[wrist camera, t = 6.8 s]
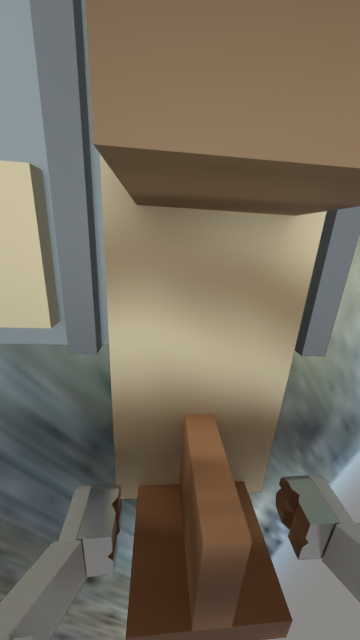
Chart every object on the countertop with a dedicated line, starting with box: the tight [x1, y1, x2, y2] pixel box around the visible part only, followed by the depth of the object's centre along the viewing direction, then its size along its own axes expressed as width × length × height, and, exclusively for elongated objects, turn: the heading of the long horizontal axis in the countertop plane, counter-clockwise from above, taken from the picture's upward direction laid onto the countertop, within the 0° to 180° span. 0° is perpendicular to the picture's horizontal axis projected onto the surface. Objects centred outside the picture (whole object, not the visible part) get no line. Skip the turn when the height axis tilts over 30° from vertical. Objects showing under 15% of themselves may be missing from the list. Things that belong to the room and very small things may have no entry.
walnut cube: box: [85, 0, 360, 216], centre depth 4 cm, size 5×5×5 cm
